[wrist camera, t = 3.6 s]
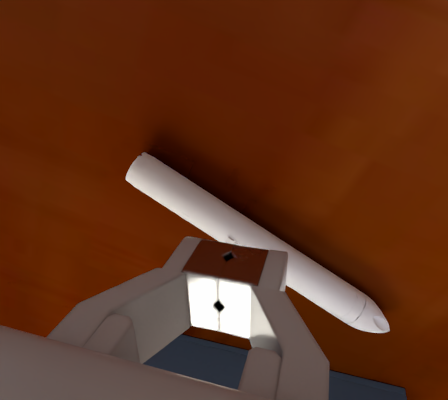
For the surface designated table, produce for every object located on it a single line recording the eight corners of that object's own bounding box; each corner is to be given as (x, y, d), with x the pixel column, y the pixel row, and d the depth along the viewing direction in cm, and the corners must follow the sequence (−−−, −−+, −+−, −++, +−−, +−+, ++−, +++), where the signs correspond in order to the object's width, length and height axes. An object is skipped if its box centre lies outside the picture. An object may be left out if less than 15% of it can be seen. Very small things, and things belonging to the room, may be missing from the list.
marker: (400, 308, 21) (406, 340, 19) (375, 325, 22) (379, 357, 20) (150, 146, 20) (130, 161, 18) (138, 172, 21) (118, 188, 19)
